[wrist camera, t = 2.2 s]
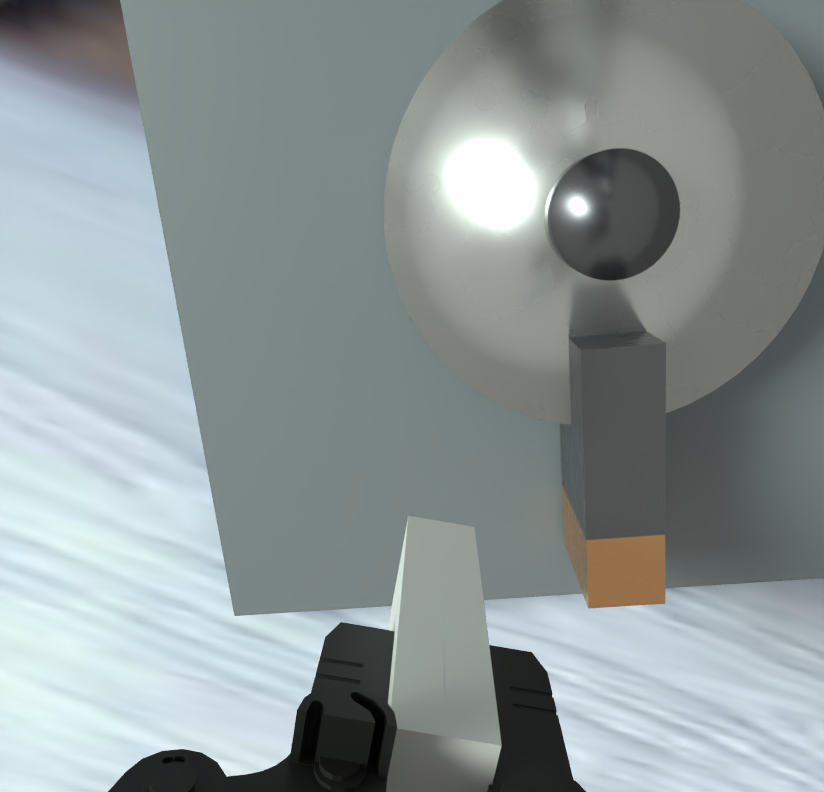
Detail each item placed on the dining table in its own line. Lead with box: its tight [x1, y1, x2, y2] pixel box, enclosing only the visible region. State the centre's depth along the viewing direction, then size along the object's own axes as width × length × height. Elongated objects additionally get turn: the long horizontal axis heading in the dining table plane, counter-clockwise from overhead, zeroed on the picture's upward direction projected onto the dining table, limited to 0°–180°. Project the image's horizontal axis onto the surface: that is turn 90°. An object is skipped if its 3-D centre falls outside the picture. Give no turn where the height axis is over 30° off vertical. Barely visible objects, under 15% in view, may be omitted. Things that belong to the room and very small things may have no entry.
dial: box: [383, 0, 824, 608], centre depth 18 cm, size 16×11×4 cm
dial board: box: [120, 0, 824, 616], centre depth 20 cm, size 24×24×2 cm
